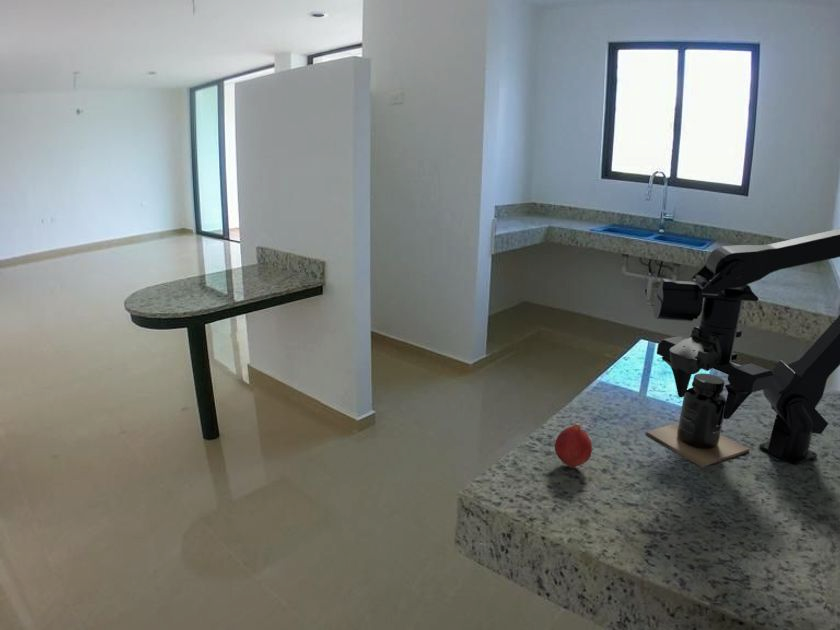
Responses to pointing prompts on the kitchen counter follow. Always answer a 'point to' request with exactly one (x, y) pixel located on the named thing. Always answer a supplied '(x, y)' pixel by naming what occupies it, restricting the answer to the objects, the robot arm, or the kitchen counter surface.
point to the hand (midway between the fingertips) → (702, 407)
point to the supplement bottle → (702, 412)
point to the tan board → (696, 455)
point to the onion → (573, 446)
